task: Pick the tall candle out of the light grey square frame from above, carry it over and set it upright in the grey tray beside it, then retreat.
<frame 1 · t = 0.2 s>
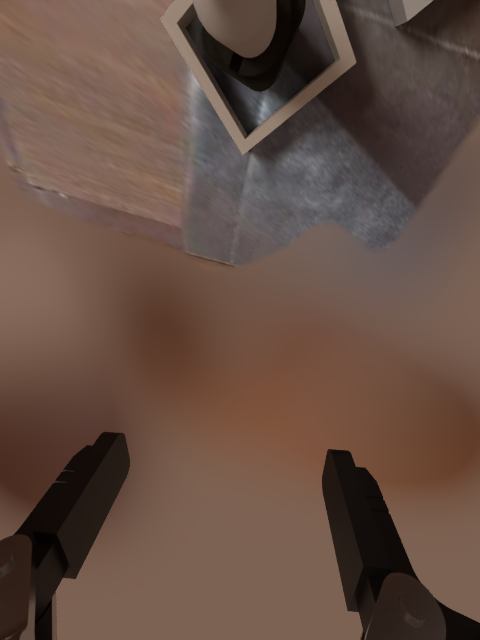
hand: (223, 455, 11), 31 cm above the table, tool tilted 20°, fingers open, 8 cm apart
grey frame: (260, 44, 25), on the table
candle: (261, 44, 25), resting in grey frame
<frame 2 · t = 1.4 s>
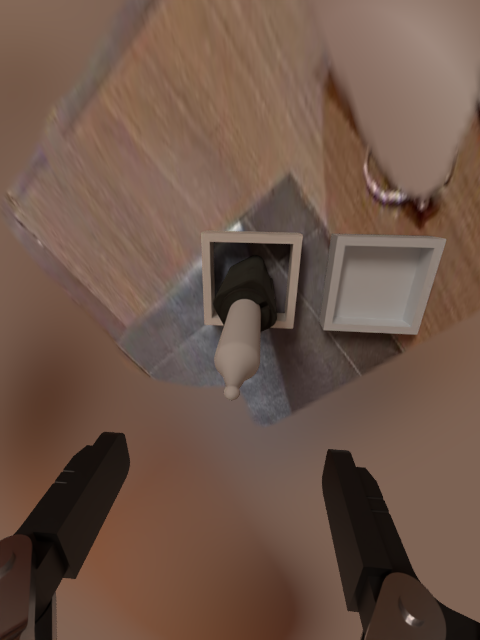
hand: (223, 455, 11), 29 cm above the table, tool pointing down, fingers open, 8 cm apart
grey frame: (250, 277, 37), on the table
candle: (250, 277, 37), resting in grey frame
grey tray: (370, 281, 36), on the table
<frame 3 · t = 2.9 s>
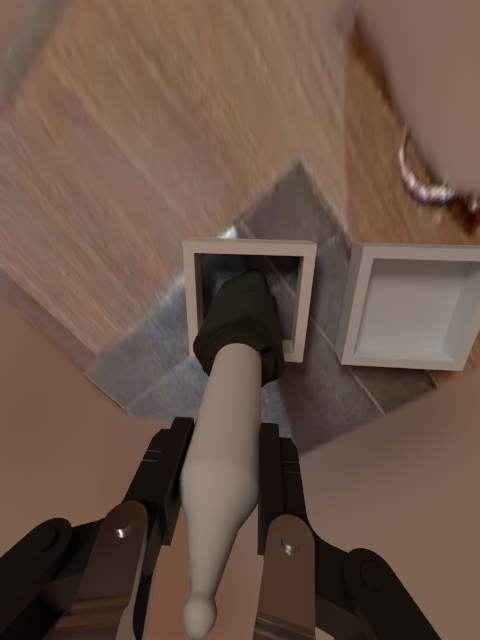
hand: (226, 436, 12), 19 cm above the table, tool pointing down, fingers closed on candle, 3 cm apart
grey frame: (248, 296, 29), on the table
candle: (248, 296, 29), resting in grey frame, touching gripper
grey tray: (401, 302, 28), on the table
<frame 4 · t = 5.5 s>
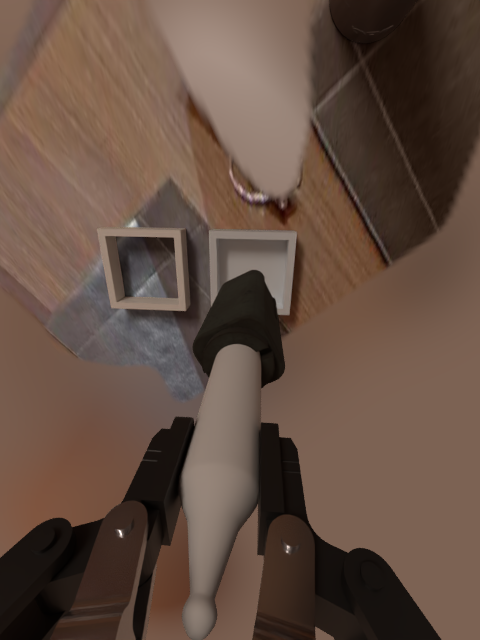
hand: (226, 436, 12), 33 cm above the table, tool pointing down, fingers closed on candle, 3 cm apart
grey frame: (151, 267, 43), on the table
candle: (248, 296, 29), point 14 cm above the table, touching gripper
grey tray: (251, 270, 42), on the table
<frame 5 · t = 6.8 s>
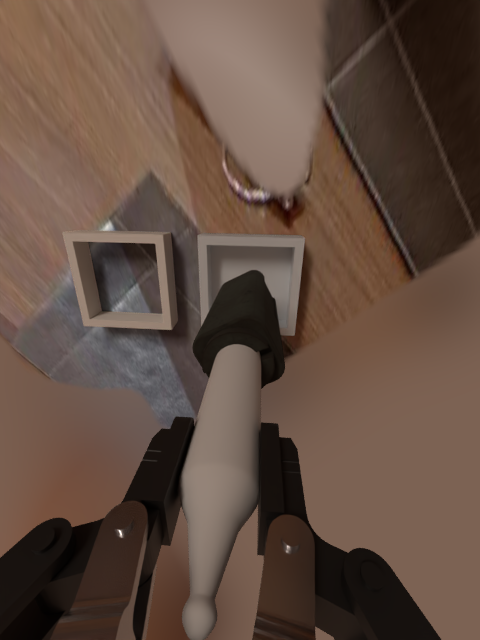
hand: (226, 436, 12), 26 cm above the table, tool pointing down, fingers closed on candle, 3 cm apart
grey frame: (131, 278, 36), on the table
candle: (248, 296, 29), point 6 cm above the table, touching gripper
grey tray: (250, 282, 35), on the table
when the fingers open (21 cm above the table, at t = 8.0 s): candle drops 1 cm, resting on grey tray.
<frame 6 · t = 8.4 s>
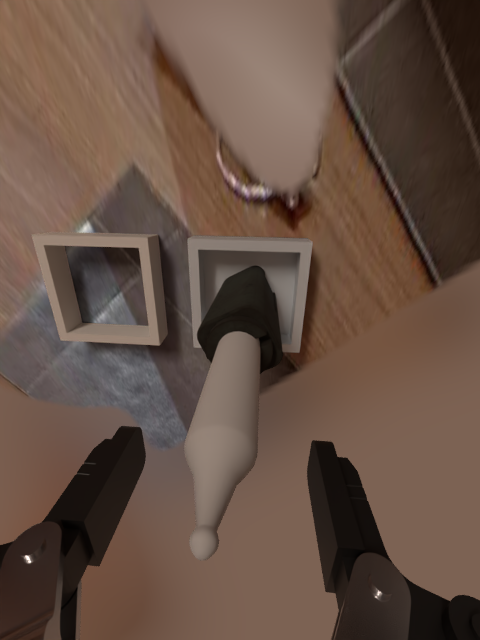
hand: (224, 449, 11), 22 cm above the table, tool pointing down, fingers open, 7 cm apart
grey frame: (113, 286, 32), on the table
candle: (249, 291, 31), resting on grey tray
grey tray: (248, 291, 31), on the table
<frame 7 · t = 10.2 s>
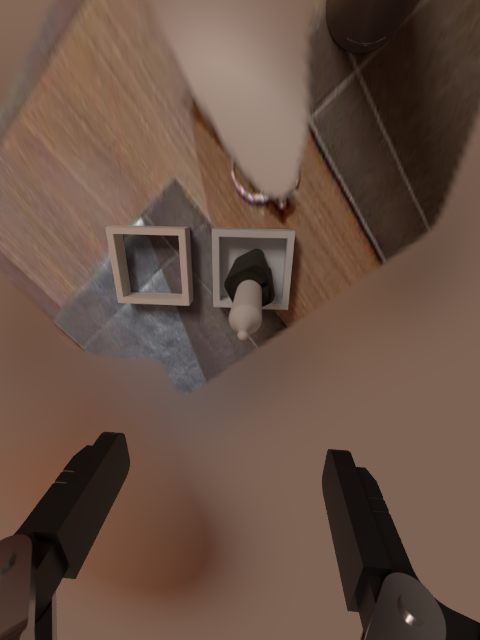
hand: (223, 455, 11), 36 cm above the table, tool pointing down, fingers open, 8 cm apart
grey frame: (156, 264, 45), on the table
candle: (252, 267, 44), resting on grey tray
grey tray: (252, 267, 44), on the table
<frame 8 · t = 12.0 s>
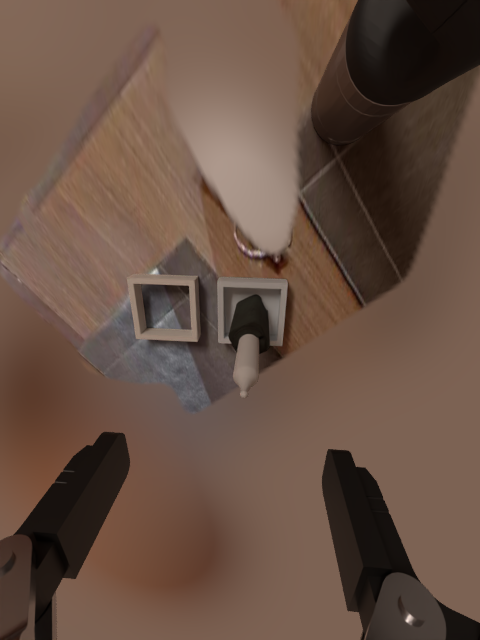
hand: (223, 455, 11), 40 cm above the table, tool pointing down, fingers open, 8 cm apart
grey frame: (168, 305, 52), on the table
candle: (252, 309, 51), resting on grey tray
grey tray: (251, 309, 51), on the table
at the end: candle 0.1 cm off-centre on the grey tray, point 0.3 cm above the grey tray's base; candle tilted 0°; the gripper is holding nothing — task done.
